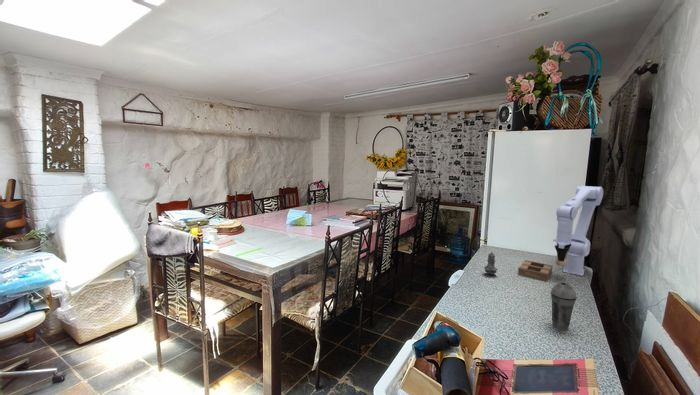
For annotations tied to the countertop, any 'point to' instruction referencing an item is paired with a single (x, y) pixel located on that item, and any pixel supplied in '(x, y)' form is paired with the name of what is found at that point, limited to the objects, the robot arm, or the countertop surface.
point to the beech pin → (561, 261)
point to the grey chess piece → (490, 266)
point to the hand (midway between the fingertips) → (561, 259)
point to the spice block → (535, 270)
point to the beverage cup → (562, 304)
